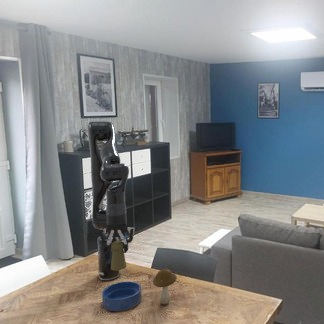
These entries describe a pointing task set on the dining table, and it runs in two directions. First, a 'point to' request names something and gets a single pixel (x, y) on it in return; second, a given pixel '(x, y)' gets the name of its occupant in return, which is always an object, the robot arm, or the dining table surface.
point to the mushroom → (164, 283)
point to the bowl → (121, 296)
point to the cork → (118, 256)
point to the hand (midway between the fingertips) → (118, 252)
